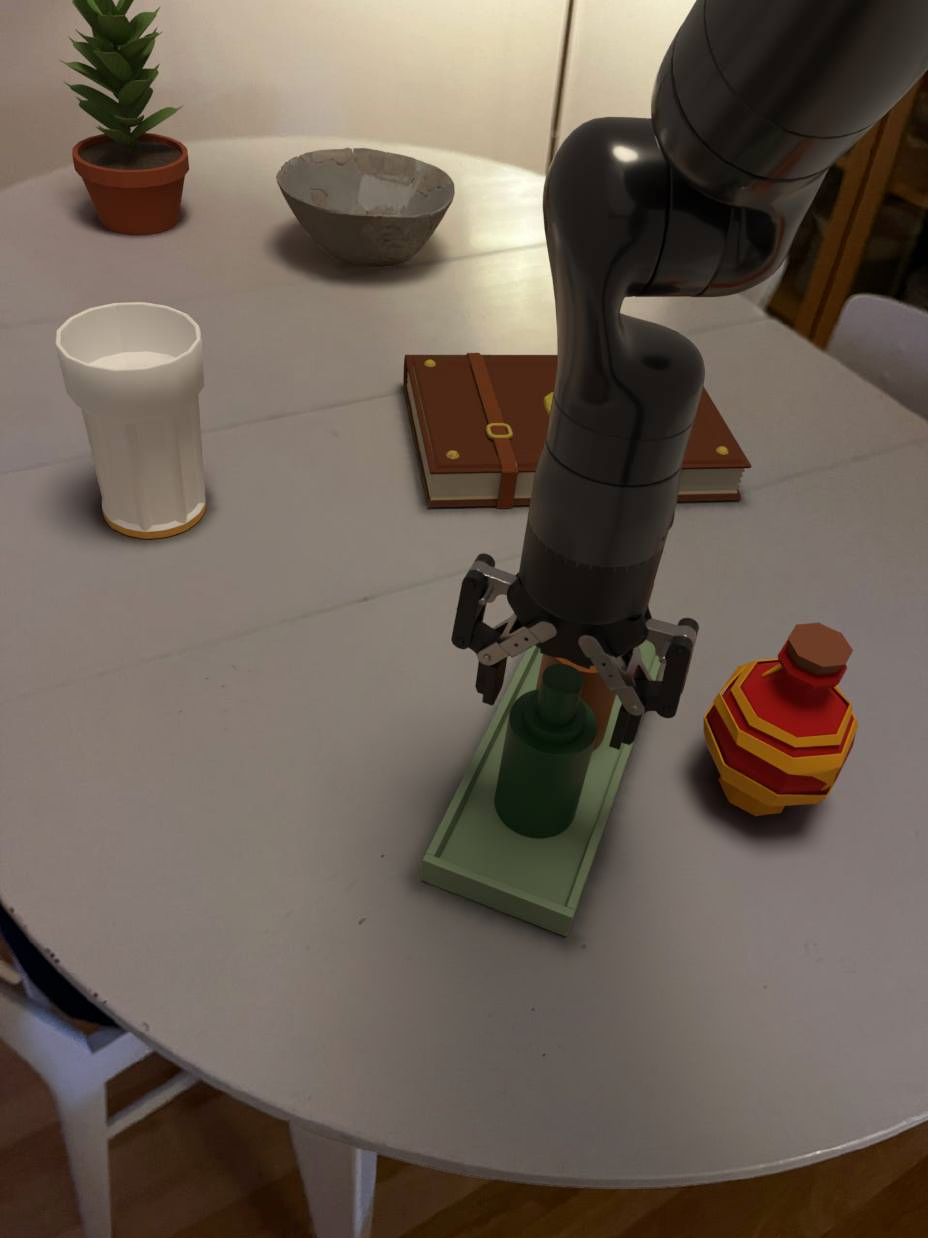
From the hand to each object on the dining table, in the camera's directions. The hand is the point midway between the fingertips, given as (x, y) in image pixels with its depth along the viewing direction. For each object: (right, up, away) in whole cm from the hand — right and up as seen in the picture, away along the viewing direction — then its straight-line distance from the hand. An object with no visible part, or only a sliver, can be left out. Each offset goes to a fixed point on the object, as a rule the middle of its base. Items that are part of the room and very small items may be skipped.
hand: (554, 717), depth 66 cm
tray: (+1, -4, +11) cm, 12 cm away
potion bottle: (+16, -6, +10) cm, 20 cm away
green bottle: (-1, -7, +6) cm, 9 cm away
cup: (-34, +16, +28) cm, 47 cm away
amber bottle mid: (+2, -2, +12) cm, 12 cm away
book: (+5, +25, +42) cm, 49 cm away
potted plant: (-50, +61, +73) cm, 107 cm away
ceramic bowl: (-19, +54, +70) cm, 91 cm away
